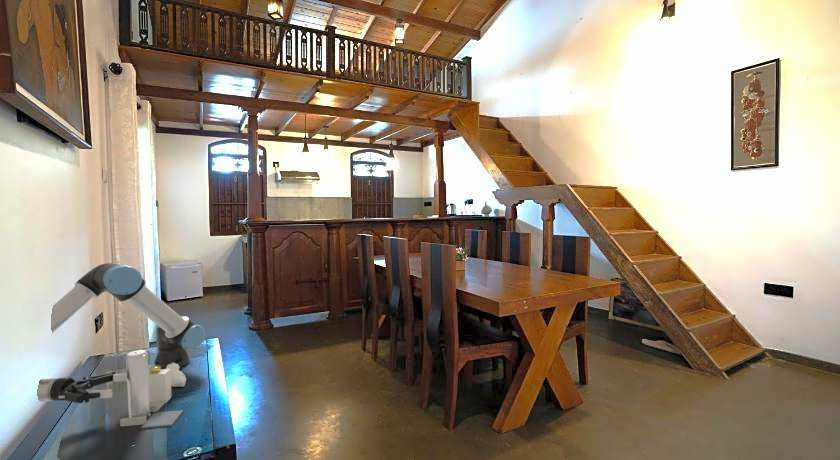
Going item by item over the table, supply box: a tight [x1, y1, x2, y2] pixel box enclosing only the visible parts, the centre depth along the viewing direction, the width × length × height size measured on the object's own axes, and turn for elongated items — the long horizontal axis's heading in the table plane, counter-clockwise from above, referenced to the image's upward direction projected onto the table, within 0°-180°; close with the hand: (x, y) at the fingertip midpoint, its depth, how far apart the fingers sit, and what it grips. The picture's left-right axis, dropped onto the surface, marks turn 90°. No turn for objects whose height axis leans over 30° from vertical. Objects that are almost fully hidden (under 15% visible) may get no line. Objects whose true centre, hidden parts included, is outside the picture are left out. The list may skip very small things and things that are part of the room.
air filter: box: [125, 349, 152, 420], centre depth 146 cm, size 6×6×25 cm
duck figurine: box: [166, 363, 187, 388], centre depth 173 cm, size 12×8×11 cm
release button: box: [149, 365, 161, 373], centre depth 159 cm, size 4×4×3 cm
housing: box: [119, 369, 172, 427], centre depth 152 cm, size 20×9×12 cm, turn 10°
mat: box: [140, 409, 184, 430], centre depth 146 cm, size 10×10×1 cm
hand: (122, 384), depth 145 cm, fingers open, 13 cm apart
